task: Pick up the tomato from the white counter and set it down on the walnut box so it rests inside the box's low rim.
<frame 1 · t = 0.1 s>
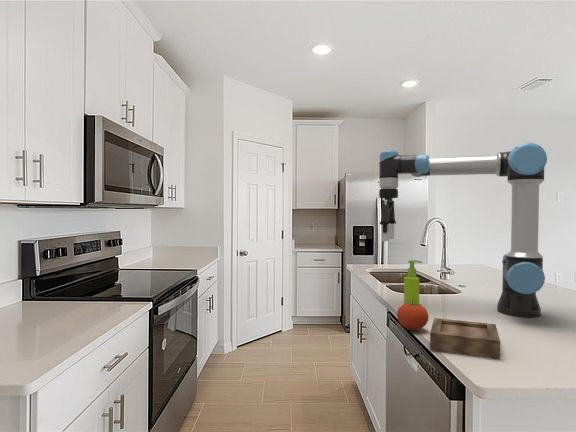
hand: (388, 240, 169), 28 cm above the counter, fingers open, 13 cm apart
soap dispenser: (412, 310, 166), on the counter
tomato: (412, 330, 138), on the counter
walnut box: (463, 344, 123), on the counter
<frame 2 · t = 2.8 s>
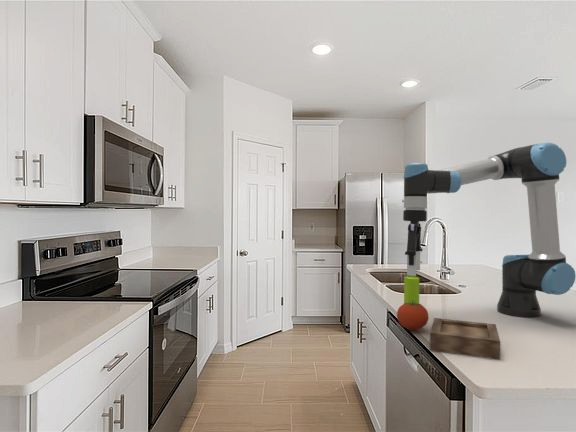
hand: (413, 272, 138), 19 cm above the counter, fingers open, 13 cm apart
nothing on the counter moved.
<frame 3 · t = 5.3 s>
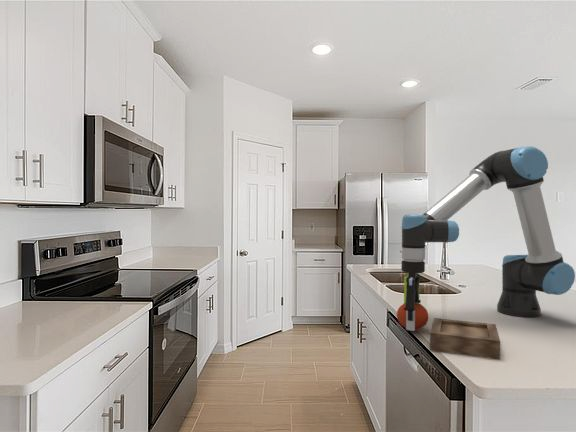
hand: (412, 325, 138), 1 cm above the counter, fingers closed on tomato, 10 cm apart
tomato: (412, 330, 138), on the counter, touching gripper
everything else where it was.
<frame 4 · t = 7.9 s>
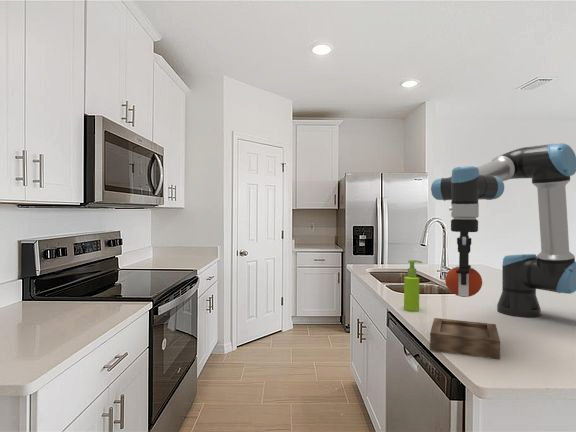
hand: (463, 292, 123), 16 cm above the counter, fingers closed on tomato, 10 cm apart
tomato: (463, 297, 123), point 14 cm above the counter, touching gripper
everything else where it was.
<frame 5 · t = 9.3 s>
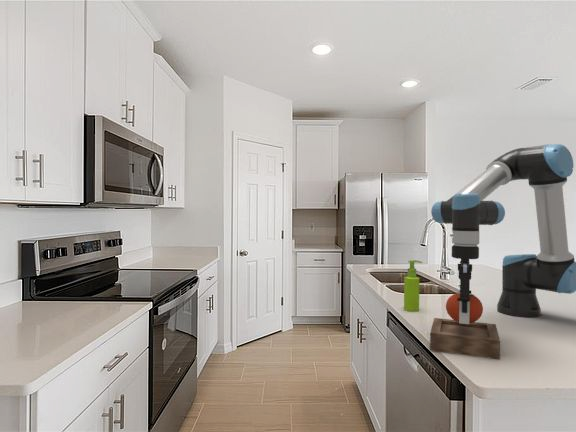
hand: (464, 318, 123), 8 cm above the counter, fingers closed on tomato, 10 cm apart
tomato: (463, 324, 123), point 6 cm above the counter, touching gripper
everything else where it was.
when the fingers open (7 cm above the counter, at t = 10.5 s): tomato drops 1 cm, resting on walnut box.
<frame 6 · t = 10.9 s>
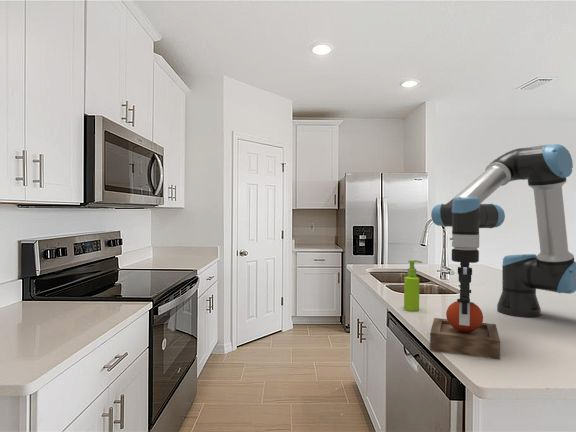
hand: (464, 319, 123), 8 cm above the counter, fingers open, 13 cm apart
tomato: (464, 332, 123), point 4 cm above the counter, touching walnut box
everything else where it was.
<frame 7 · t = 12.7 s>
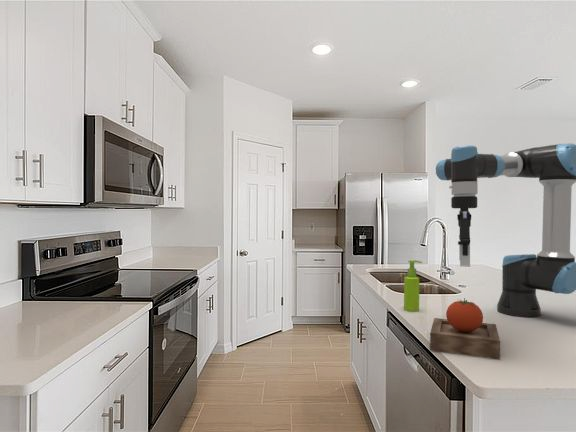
hand: (464, 263, 129), 24 cm above the counter, fingers open, 13 cm apart
nothing on the counter moved.
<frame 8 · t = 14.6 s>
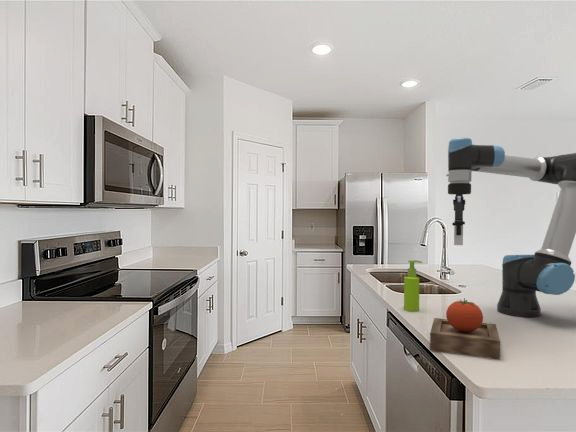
hand: (458, 243, 144), 29 cm above the counter, fingers open, 13 cm apart
nothing on the counter moved.
at the end: tomato 0.3 cm from the walnut box (horizontally); tomato point 3.8 cm above the counter; tomato touching walnut box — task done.
